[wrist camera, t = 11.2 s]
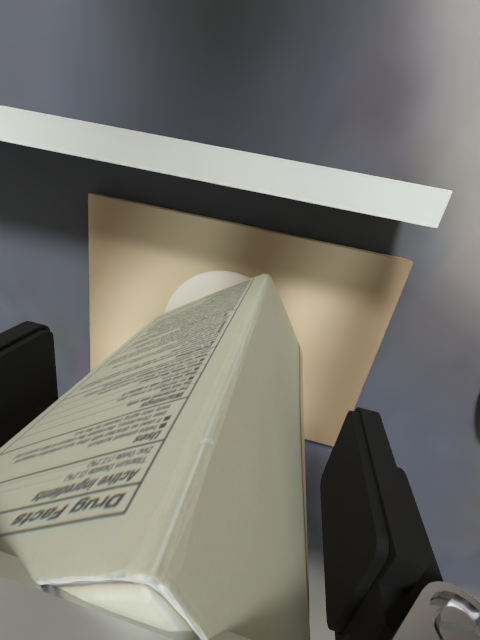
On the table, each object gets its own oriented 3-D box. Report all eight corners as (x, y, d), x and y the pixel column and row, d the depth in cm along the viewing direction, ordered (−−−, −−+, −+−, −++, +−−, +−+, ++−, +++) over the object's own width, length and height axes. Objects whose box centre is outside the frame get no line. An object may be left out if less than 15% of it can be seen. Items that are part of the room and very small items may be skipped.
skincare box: (193, 386, 17) (-20, 774, 6) (152, 312, 15) (-225, 622, 4) (308, 351, 15) (330, 834, 4) (272, 263, 14) (140, 594, 2)
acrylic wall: (407, 190, 12) (452, 190, 9) (398, 217, 13) (437, 228, 9) (-51, 103, 14) (-173, 72, 10) (-47, 128, 15) (-163, 108, 11)
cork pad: (409, 259, 13) (414, 262, 13) (336, 439, 17) (338, 449, 17) (96, 193, 14) (86, 193, 14) (96, 375, 18) (89, 382, 18)
